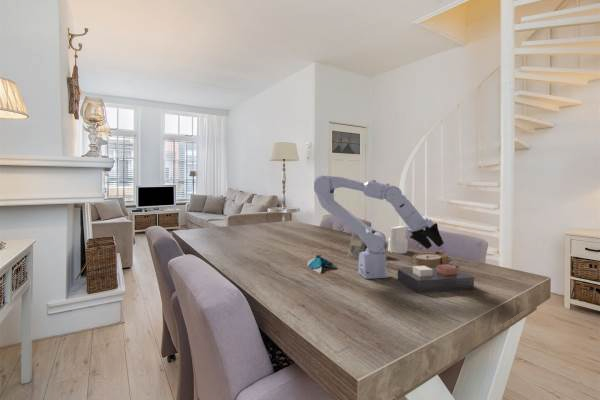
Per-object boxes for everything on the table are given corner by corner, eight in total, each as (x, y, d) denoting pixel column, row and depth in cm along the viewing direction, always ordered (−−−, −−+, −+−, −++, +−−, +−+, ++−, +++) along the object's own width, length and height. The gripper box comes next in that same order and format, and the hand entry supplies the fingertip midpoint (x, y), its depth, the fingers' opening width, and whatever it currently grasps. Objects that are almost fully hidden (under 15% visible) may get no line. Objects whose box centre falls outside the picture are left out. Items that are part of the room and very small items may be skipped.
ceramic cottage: (341, 255, 139) (344, 223, 138) (362, 251, 150) (365, 221, 149) (370, 264, 128) (373, 229, 126) (390, 259, 139) (394, 227, 137)
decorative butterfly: (318, 254, 127) (335, 252, 120) (321, 269, 127) (338, 268, 119) (300, 257, 121) (317, 256, 113) (303, 274, 120) (320, 274, 113)
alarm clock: (409, 253, 133) (444, 248, 131) (411, 264, 133) (446, 259, 131) (416, 260, 122) (455, 254, 120) (418, 272, 122) (457, 266, 120)
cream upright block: (394, 248, 155) (395, 225, 154) (410, 251, 148) (411, 227, 147) (384, 250, 149) (385, 226, 148) (400, 254, 142) (401, 229, 141)
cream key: (420, 279, 98) (420, 270, 97) (412, 275, 102) (412, 266, 102) (432, 278, 98) (432, 269, 98) (424, 274, 103) (424, 265, 102)
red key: (444, 277, 99) (445, 268, 99) (436, 273, 104) (436, 264, 103) (456, 276, 100) (457, 268, 100) (447, 272, 104) (448, 264, 104)
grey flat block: (417, 293, 93) (417, 280, 93) (397, 280, 105) (397, 269, 105) (473, 289, 97) (474, 277, 97) (448, 277, 109) (449, 266, 109)
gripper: (428, 203, 100) (455, 236, 98) (408, 212, 114) (432, 241, 112) (412, 215, 98) (440, 249, 96) (395, 223, 112) (418, 253, 110)
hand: (435, 246), depth 104 cm, fingers open, 7 cm apart
